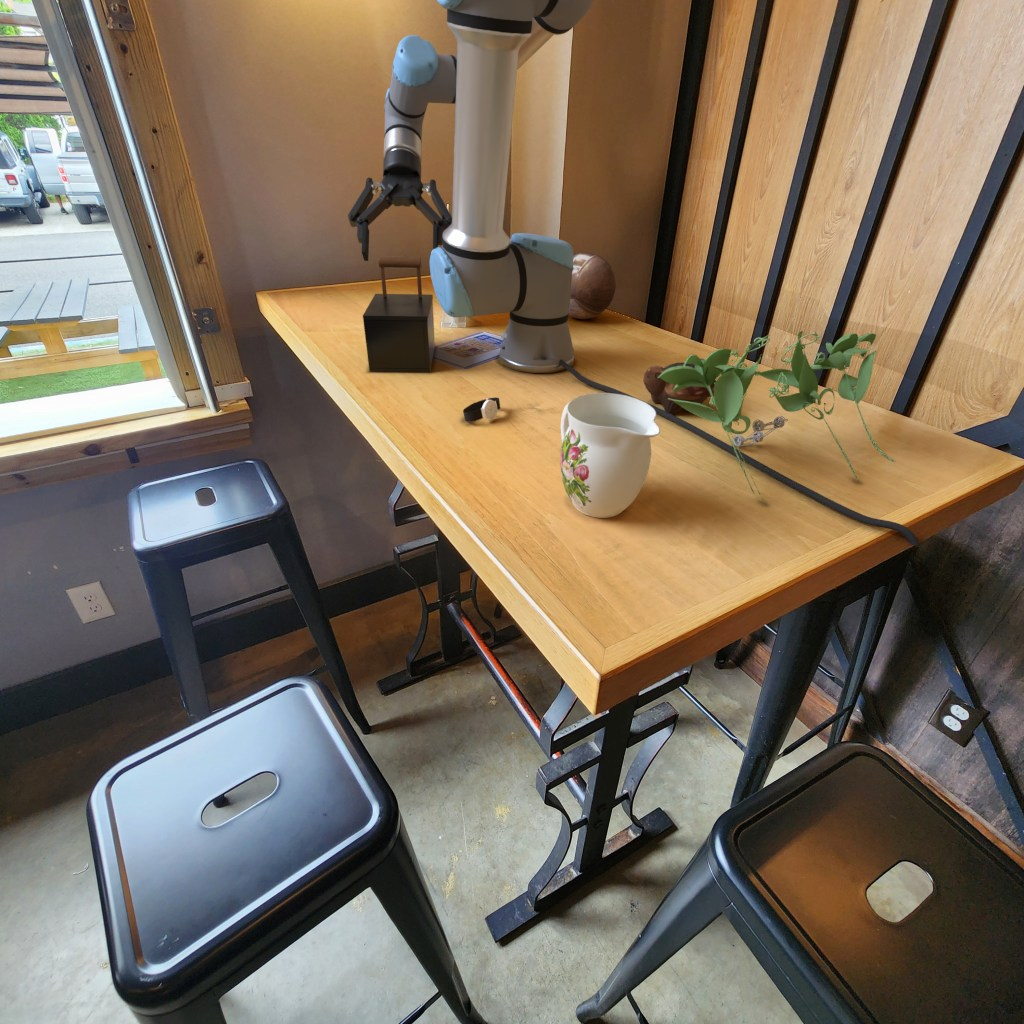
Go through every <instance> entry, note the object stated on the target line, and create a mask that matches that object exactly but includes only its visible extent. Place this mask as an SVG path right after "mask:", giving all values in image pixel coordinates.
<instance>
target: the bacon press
mask: <svg viewBox="0 0 1024 1024" xmlns="http://www.w3.org/2000/svg"><path fill="white" fill-rule="evenodd" d="M377 263H378V264H377V265H378V267H379V271H380V279H381V280H380V281H381V290H382V293H374V295H373V297H372V299H371V300H370V302H369V304H368V305H367V308H366V309H365V311H364V313H363V314H362V320H404V321H427V320H428V316H429V312H430V308H431V304H432V300H433V299H434V295H433V294H426V293H425V294H424V293H423V287H422V273H421V272H422V271H421V269H422V258H421V257H420V256H380V255H379V256H378V258H377ZM385 269H416V281H417V283H416V284H417V294H416V293H415V294H413V293H388V291H387V282H386V270H385Z"/></svg>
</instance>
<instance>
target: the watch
mask: <svg viewBox="0 0 1024 1024" xmlns="http://www.w3.org/2000/svg"><path fill="white" fill-rule="evenodd" d="M500 409H501V402H500V398H499V397H489V398H488V397H487V398H485V399H481V400H479V401H475V402H473V403H472V404H469V405H468V406H466V407H465V408H464V409H462V413H463V418H464V421H465V422H468V423H469V422H471V423H472V422H476V421H479V420H482V419H484V420H487V421H491V420H494V419H495V418H496V416H497V413H498V412H499V410H500Z"/></svg>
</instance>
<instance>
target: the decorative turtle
mask: <svg viewBox="0 0 1024 1024" xmlns="http://www.w3.org/2000/svg"><path fill="white" fill-rule="evenodd" d="M684 363H685V361H684V362H682V361H681V362H676V363H671V364H668V365H666V366H664V367H663V366H660V365H651V366H649V367H648V368H647V369H646V370H645V372H644V374H643V379H642V382H643V384H644V387H645V389H646V390H647V392H648V393H649V394H650V398H651V402H653V403H654V404H660V403H661V405H662V406H663V409H664V411H666V412H668V413H670V414H672V415H673V414H674V413H675V412H677V411H679V409H681V408H682V407H681V406H679V405H678V404H677V403H675V402H674V401H672V400H669V399H668V398H670V399H676V400H683V401H690V402H696V403H700V404H703V403H704V402H705V401H706V400H708V398H712V397H711V395H710V393H709V391H708V389H707V387H699V386H690V387H686V388H683V389H680V390H677V391H675V392H673V389H674V387H675V386H676V385H675V384H671V383H668V382H666V381H664V380H662V379H661V378H658V376H659V375H660V374H661V373H662V372H663V371H665V370H666V369H668V368H671V367H675V366H683V365H684ZM685 366H689V367H692V368H694V369H695V364H686V365H685ZM716 381H717V379H715V380H714V382H713V383H712V384H711V385H710V388H711V391H712V394H713V396H714V386H715V384H714V383H716Z"/></svg>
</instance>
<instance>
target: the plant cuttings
mask: <svg viewBox="0 0 1024 1024" xmlns="http://www.w3.org/2000/svg"><path fill="white" fill-rule="evenodd" d="M803 333H804V331H803V330H800V331H799V332H798V334H797V341H796V342H794V343H793V345H792V344H789V346H788V347H786V348H785V349H784V350H785V352H784V353H782V354H781V356H780V361H781V362H782V364H785V365H789V364H790V366H791V367H790V368H791V370H790V369H786V368H773V369H768V370H764V371H759V370H757V369H758V367H759V364H760V362H761V359H762V357H761V356H762V355H759V357H758V359H757V360H756V362H754V363H753V364H752V365H750V366H749V367H748V365H747V363H746V362H745V361H746V358H747V356H748V355H749V353H750V352H753V351H756V350H759V349H760V348H762V347H764V346H766V345H767V344H768V343H769V342H770V341H771V339H770V338H769V336H770V334H768V335H766V336H764V337H756V338H755V339H754V340H753V343H752V344H751V343H747V346H746V347H745V352H744V353H743V354H742V356H741V357H740V358H739V353H738V352H739V350H735V349H729V348H719V349H716V350H714V351H712V352H711V353H710V354H708V355H707V357H706V358H705V359H704V358H700V357H699V356H698V355H697V354H691V355H689V356H688V357H687V358H686V359H685V361H684V362H685V363H684V365H683V366H675V367H671V368H668V369H666V370H665V371H663V372H662V373H661V374H660V375H659V376H658V378H661V379H662V380H664V381H666V382H668V383H671V384H675V385H676V386H675V387H674V389H673V392H675V391H677V390H680V389H683V388H686V387H690V386H699V387H707V389H708V391H709V393H710V395H711V397H710V400H709V405H705V404H703V403H702V404H700V403H696V402H690V401H683V400H676V399H670V398H668V399H669V400H672V401H674V402H675V403H677V404H678V405H679V406H681V408H682V409H684V410H685V411H688V412H689V413H691V414H693V415H695V416H697V417H699V418H701V419H704V420H706V421H710V422H713V423H714V422H715V423H719V424H721V428H722V429H723V430H724V431H725V432H726V435H727V437H728V440H729V442H730V444H731V446H732V447H733V449H734V451H735V454H736V456H737V457H736V456H735V457H736V459H737V460H738V463H739V465H740V467H741V470H742V472H743V474H744V476H745V478H746V481H747V482H748V485H749V487H750V489H751V492H752V494H753V495H754V494H755V491H754V490H753V489H754V488H752V485H751V483H750V480H749V478H748V476H747V472H746V471H745V468H744V466H743V463H744V465H745V466H746V469H747V471H748V473H749V475H750V478H751V480H752V482H753V484H754V486H755V488H756V490H757V492H758V494H759V496H760V498H761V499H762V501H764V499H763V496H762V495H761V492H760V491H759V489H758V486H757V484H756V483H755V480H754V479H753V476H752V474H751V473H750V471H749V468H748V466H747V465H746V464H747V463H746V462H745V461H744V460H742V461H743V463H742V461H741V459H740V458H739V456H738V454H737V452H736V449H737V450H739V452H740V451H741V450H740V449H739V448H741V447H746V446H750V445H753V444H755V443H760V442H763V441H764V438H765V437H766V436H768V435H769V434H771V433H772V432H774V431H775V430H776V429H781V428H783V427H784V426H785V423H786V422H788V421H789V419H788V418H785V417H784V416H783V415H777V416H776V417H774V419H773V421H768V422H766V423H765V422H764V421H762V420H761V419H755V420H754V421H753V422H752V421H751V419H750V417H748V416H746V415H742V409H743V404H744V400H745V399H744V398H746V396H747V392H748V389H749V387H750V385H751V383H752V381H753V378H754V376H755V377H758V376H760V377H762V378H765V379H767V380H770V381H773V382H777V384H776V387H770V388H769V389H768V391H769V398H771V399H772V398H775V399H776V400H777V402H778V404H779V405H780V406H781V407H782V409H783V410H784V411H785V412H789V413H794V412H795V413H796V412H798V411H801V410H804V411H805V412H806V413H808V414H809V415H810V416H811V417H813V418H814V419H817V420H819V421H820V420H823V421H824V423H825V424H826V426H827V428H828V429H829V431H830V433H831V435H832V437H833V438H834V441H835V442H836V444H837V446H838V448H839V450H840V451H841V453H842V455H843V457H844V459H845V461H846V462H847V464H848V466H849V468H850V470H851V472H852V473H853V475H854V477H855V479H856V481H857V482H858V483H859V478H858V475H857V473H856V472H855V470H854V468H853V465H852V464H851V462H850V460H849V458H848V457H847V454H846V453H845V451H844V449H843V448H842V446H841V444H840V443H839V440H838V439H837V438H836V436H835V434H834V432H833V431H832V429H831V427H830V426H829V423H828V422H827V421H826V418H825V415H824V413H825V414H826V415H829V416H830V415H831V414H832V413H833V411H834V409H835V408H834V407H835V403H833V404H832V407H831V408H830V410H829V411H826V408H825V406H827V403H826V402H823V411H824V413H823V411H822V410H820V409H819V407H818V406H820V405H822V398H823V396H824V395H825V394H826V393H829V392H830V393H832V396H833V400H835V392H834V389H832V388H831V387H830V388H824V389H823V390H822V391H821V392H820V393H818V392H819V381H818V377H817V375H816V373H815V372H816V371H819V370H832V369H835V370H838V371H840V372H841V371H842V372H843V375H842V376H841V378H840V381H839V384H838V386H837V392H838V395H839V397H840V398H842V399H844V400H848V401H851V402H854V403H855V404H856V407H857V410H858V413H859V416H860V419H861V422H862V425H863V427H864V430H865V432H866V434H867V437H868V438H869V439H868V440H870V442H871V444H872V445H873V447H874V448H875V449H876V450H877V452H878V453H879V454H880V455H881V456H883V457H884V458H885V459H887V460H888V461H890V462H891V463H896V460H894V459H892V458H891V457H890V456H888V455H887V454H886V453H885V452H884V451H883V450H882V449H881V448H880V447H879V446H878V445H877V443H876V442H875V440H874V439H873V436H872V435H871V433H870V431H869V429H868V426H867V425H866V422H865V420H864V417H863V415H862V413H861V410H860V406H859V403H860V402H861V401H862V400H863V398H864V397H865V395H866V393H867V391H868V389H869V386H870V383H871V378H872V374H873V369H874V368H873V367H874V360H875V356H876V353H877V350H873V348H868V349H866V348H860V347H859V346H860V345H859V343H863V342H869V343H870V346H873V343H874V342H875V340H876V337H877V335H876V333H872V332H870V333H864V334H862V335H860V336H859V335H858V334H857V333H847V334H845V335H843V336H841V337H840V338H838V339H837V340H836V342H834V344H832V343H831V342H828V341H826V343H825V348H826V350H827V352H828V354H829V356H828V357H826V354H825V352H822V351H820V352H817V353H816V356H817V357H816V358H815V359H814V361H813V364H812V365H810V363H809V360H808V358H807V355H806V352H805V351H806V350H805V349H806V346H808V345H811V344H813V343H815V342H817V341H818V340H819V339H820V337H821V336H820V335H819V334H818V333H817V332H816V331H813V333H808V334H805V335H803ZM802 335H803V336H802ZM808 336H814V337H815V338H814V339H813V340H812V341H810V342H808V343H802V340H803V339H804V338H806V337H808ZM759 343H761V344H759ZM757 344H758V347H756V348H753V347H754V346H756V345H757ZM752 348H753V349H752ZM792 349H794V351H793V353H792V356H791V358H789V357H785V358H784V359H783V357H784V355H785V354H786V353H788V352H789V351H790V350H792ZM872 350H873V351H872ZM869 351H871V352H870V353H869V354H868V355H866V354H867V352H869ZM855 354H857V355H860V356H861V358H863V360H862V362H861V364H860V367H859V369H858V374H857V377H855V376H853V375H850V374H848V373H847V371H845V370H846V369H848V368H850V367H851V366H850V365H851V360H852V357H853V356H854V355H855ZM732 356H733V357H734V358H735V360H734V359H730V358H731V357H732ZM820 356H822V357H820ZM864 357H865V358H864ZM729 361H730V362H732V363H731V364H728V363H729ZM736 361H737V362H736ZM735 362H736V363H735ZM686 364H695V369H694V368H692V367H689V366H685V365H686ZM734 364H735V365H734ZM714 380H716V383H714V384H715V386H714V396H713V394H712V391H711V388H710V385H711V384H712V383H713V382H714ZM780 384H781V385H780ZM790 386H791V387H794V388H796V389H798V392H796V393H791V394H789V393H790ZM779 388H781V390H780V389H779ZM788 394H789V395H788ZM781 395H782V396H781ZM816 403H817V406H816V407H817V408H816V407H811V408H810V411H811V412H812V413H815V411H817V412H818V413H819V415H820V417H818V416H816V415H814V414H812V413H811V412H809V411H808V410H807V409H806V408H807V407H809V406H811V405H813V404H816ZM711 406H712V407H714V408H716V410H717V411H716V410H715V409H713V408H712V407H711ZM739 420H742V421H743V422H744V423H745V429H744V430H741V431H740V430H737V429H736V430H735V429H734V428H732V427H733V422H734V423H736V424H737V426H739V424H740V423H739ZM751 424H752V429H753V432H752V433H750V434H749V435H747V436H746V438H744V436H743V435H742V434H745V433H746V432H747V431H748V430H749V429H750V427H751ZM772 425H773V427H771V428H766V427H768V426H772ZM763 431H766V432H765V433H763ZM729 433H730V434H729ZM733 434H734V436H733ZM730 435H731V436H730ZM731 437H732V438H731ZM750 440H751V441H752V442H751V443H748V444H747V443H746V444H744V443H745V442H747V441H750ZM740 454H741V453H740ZM741 456H742V455H741ZM742 459H743V457H742Z"/></svg>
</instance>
